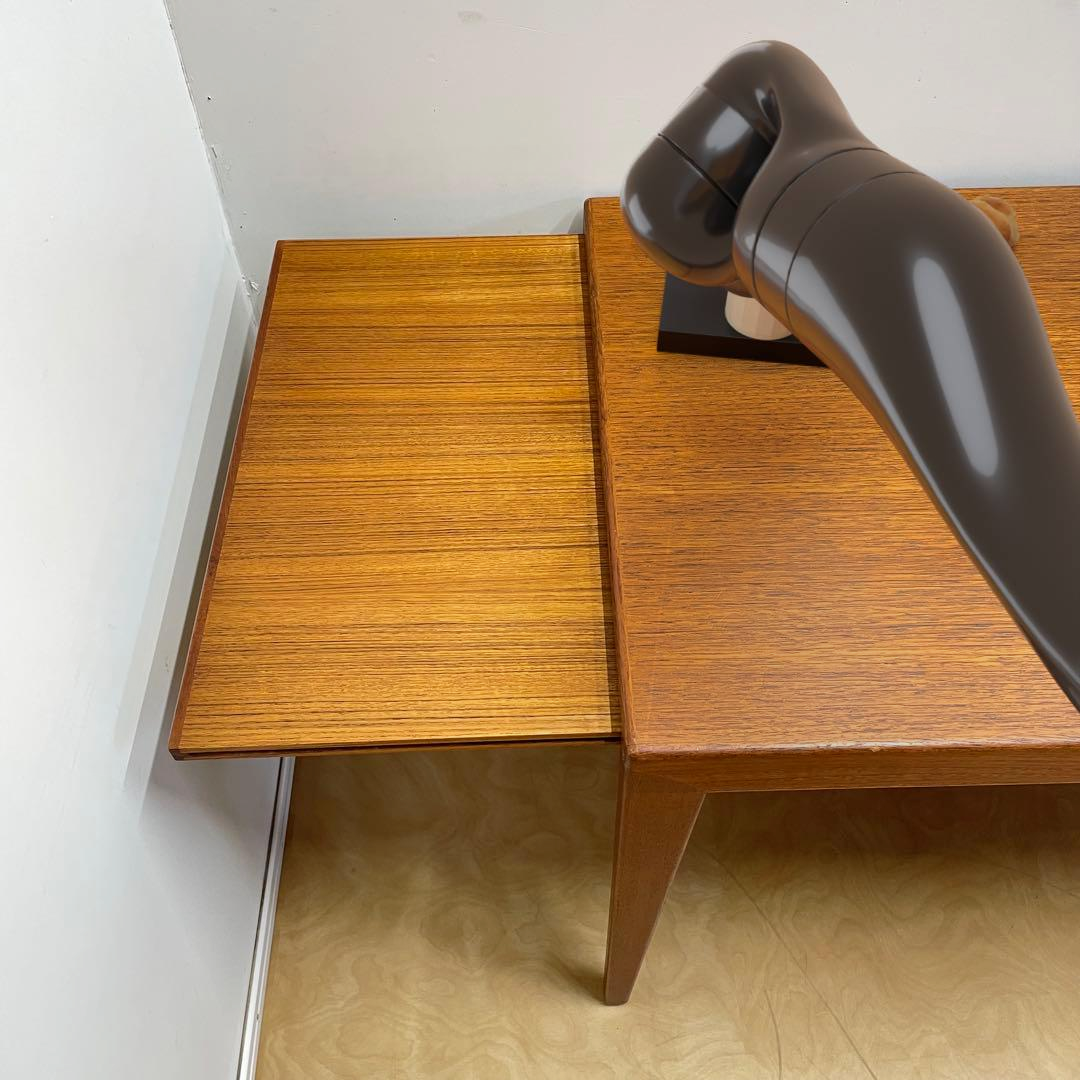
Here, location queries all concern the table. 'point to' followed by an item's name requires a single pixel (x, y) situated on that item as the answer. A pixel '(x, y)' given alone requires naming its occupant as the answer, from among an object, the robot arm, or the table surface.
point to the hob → (717, 328)
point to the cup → (753, 319)
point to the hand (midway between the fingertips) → (768, 264)
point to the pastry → (999, 216)
